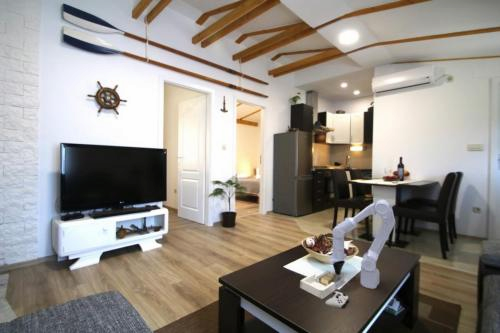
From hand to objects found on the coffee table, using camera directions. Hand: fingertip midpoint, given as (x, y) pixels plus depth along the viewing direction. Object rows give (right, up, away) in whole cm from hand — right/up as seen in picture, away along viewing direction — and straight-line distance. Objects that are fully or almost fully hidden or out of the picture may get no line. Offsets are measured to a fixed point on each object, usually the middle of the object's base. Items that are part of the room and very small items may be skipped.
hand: (337, 274), depth 123 cm
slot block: (-6, -2, -5) cm, 8 cm away
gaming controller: (-8, -3, -22) cm, 23 cm away
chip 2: (-5, -1, -4) cm, 6 cm away
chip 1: (-8, -1, -7) cm, 11 cm away
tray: (-14, -2, -12) cm, 19 cm away
